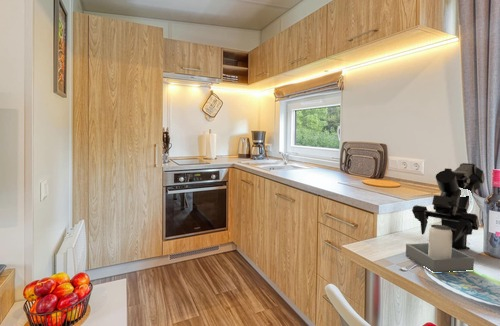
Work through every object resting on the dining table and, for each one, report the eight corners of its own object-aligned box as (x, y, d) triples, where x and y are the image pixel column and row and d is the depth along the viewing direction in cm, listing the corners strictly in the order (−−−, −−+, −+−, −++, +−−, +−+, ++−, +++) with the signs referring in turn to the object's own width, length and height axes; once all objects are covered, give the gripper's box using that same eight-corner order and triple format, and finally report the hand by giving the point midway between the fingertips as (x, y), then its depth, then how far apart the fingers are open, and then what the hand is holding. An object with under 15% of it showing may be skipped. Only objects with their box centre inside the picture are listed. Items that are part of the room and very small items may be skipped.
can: (455, 263, 92) (457, 228, 91) (442, 267, 90) (443, 231, 89) (436, 256, 98) (438, 223, 97) (423, 259, 96) (424, 225, 95)
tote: (440, 254, 102) (441, 242, 101) (473, 271, 88) (474, 258, 88) (405, 255, 101) (406, 243, 100) (433, 273, 87) (433, 259, 87)
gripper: (414, 183, 102) (401, 218, 96) (479, 190, 88) (468, 231, 82) (421, 201, 108) (409, 235, 102) (483, 209, 94) (473, 250, 88)
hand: (437, 237), depth 93 cm, fingers open, 9 cm apart
